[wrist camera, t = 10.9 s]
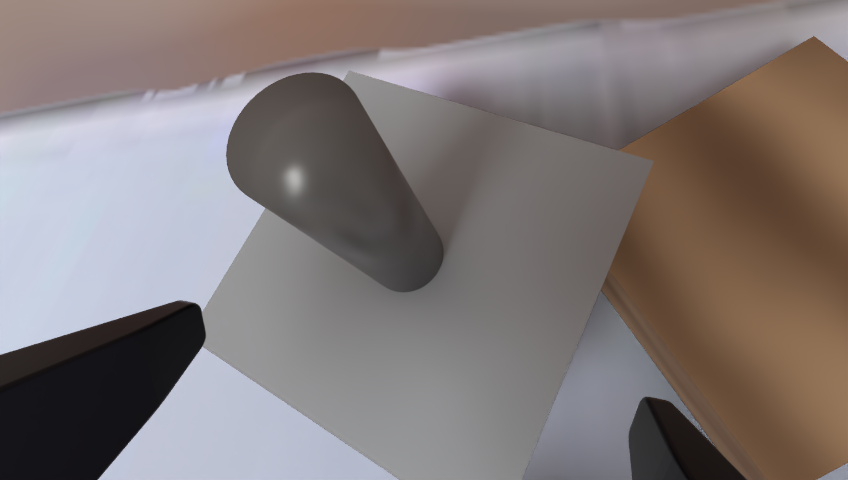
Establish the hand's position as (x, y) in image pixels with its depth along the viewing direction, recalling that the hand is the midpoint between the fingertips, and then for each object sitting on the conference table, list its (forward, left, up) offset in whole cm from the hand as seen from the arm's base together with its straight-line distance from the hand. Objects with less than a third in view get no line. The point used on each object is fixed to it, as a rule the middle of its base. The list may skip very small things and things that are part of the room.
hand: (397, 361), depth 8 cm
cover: (+1, +4, -6) cm, 8 cm away
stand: (+15, -2, -14) cm, 20 cm away
